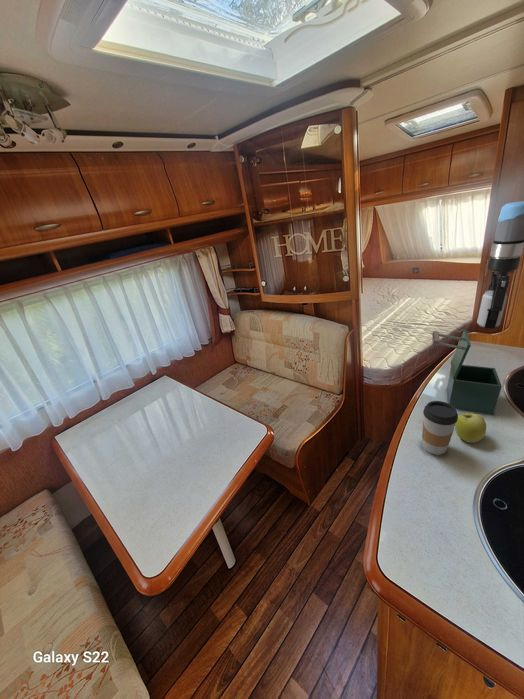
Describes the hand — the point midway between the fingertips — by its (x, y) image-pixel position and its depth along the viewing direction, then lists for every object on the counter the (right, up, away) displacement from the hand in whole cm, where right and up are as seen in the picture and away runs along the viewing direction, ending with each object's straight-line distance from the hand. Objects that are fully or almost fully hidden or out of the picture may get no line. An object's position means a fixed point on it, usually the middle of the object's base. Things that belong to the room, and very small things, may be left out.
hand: (488, 324), depth 96 cm
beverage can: (0, -1, 0) cm, 1 cm away
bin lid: (-12, -11, -3) cm, 17 cm away
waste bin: (-5, -28, +3) cm, 29 cm away
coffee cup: (-27, -39, -13) cm, 50 cm away
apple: (-16, -37, -11) cm, 41 cm away
